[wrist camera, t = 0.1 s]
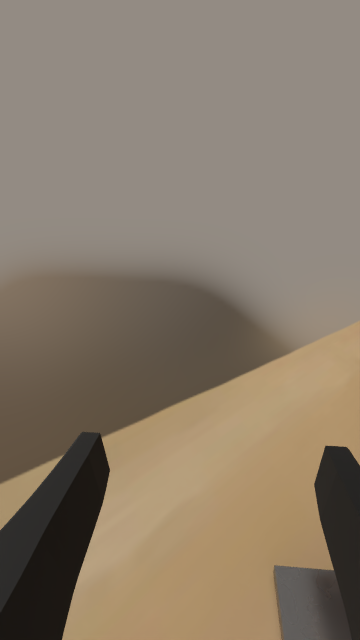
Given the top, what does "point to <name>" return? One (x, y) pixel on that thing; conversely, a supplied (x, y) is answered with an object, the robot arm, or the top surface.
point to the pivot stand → (310, 604)
